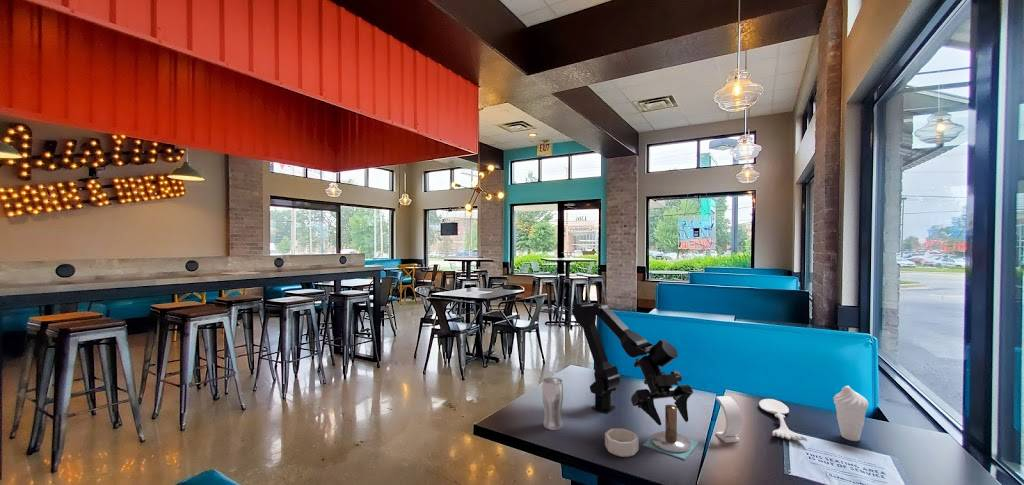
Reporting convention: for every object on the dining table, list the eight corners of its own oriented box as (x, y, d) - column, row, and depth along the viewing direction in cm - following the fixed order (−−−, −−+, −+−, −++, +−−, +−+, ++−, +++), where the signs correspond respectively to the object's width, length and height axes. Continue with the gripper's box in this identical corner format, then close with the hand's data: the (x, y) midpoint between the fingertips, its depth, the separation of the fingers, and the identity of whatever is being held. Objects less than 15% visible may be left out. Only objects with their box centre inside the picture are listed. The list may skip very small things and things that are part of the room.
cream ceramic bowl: (614, 438, 126) (614, 425, 125) (642, 448, 120) (642, 434, 120) (600, 450, 119) (600, 436, 119) (628, 460, 113) (628, 446, 113)
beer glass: (562, 431, 130) (562, 385, 130) (540, 429, 132) (540, 383, 132) (564, 421, 137) (563, 377, 137) (543, 420, 139) (543, 376, 138)
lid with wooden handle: (660, 431, 129) (660, 396, 129) (696, 442, 122) (696, 405, 122) (645, 444, 121) (645, 407, 121) (683, 457, 114) (683, 418, 114)
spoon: (772, 443, 123) (772, 432, 122) (756, 403, 152) (756, 394, 152) (808, 449, 119) (808, 438, 119) (785, 407, 148) (785, 398, 148)
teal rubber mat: (659, 431, 130) (659, 430, 130) (698, 443, 122) (698, 442, 122) (643, 445, 121) (643, 444, 121) (684, 460, 113) (684, 458, 113)
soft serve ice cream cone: (860, 433, 128) (860, 382, 128) (874, 446, 120) (874, 392, 120) (828, 429, 130) (828, 380, 130) (839, 442, 123) (839, 389, 122)
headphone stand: (729, 433, 128) (729, 395, 128) (742, 443, 122) (742, 403, 122) (715, 434, 128) (715, 396, 128) (727, 444, 122) (727, 404, 122)
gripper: (635, 363, 123) (656, 415, 112) (689, 359, 127) (714, 408, 117) (622, 380, 131) (641, 430, 120) (673, 375, 135) (696, 423, 125)
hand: (673, 423), depth 120 cm, fingers open, 9 cm apart
